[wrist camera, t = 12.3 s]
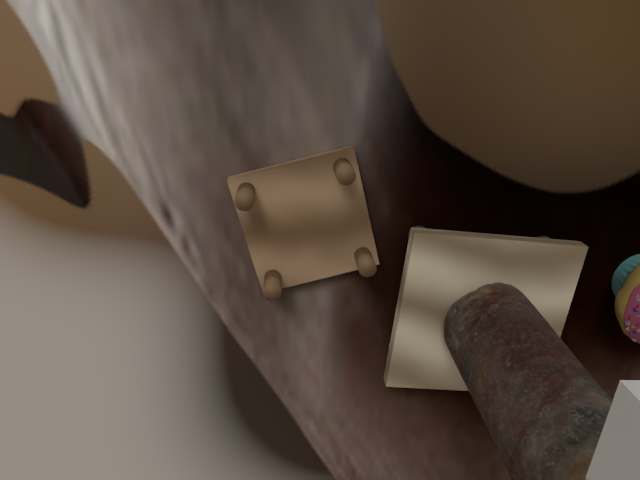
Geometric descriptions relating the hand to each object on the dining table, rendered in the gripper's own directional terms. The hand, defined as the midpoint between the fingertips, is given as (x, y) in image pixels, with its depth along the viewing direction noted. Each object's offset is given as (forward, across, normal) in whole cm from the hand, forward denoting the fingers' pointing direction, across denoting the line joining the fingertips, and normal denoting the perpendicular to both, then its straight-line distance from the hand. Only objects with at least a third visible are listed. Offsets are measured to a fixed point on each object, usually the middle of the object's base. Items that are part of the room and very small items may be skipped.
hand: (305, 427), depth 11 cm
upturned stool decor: (+32, +2, -7) cm, 33 cm away
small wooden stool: (+32, +17, -14) cm, 38 cm away
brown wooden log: (+28, +16, -14) cm, 35 cm away
